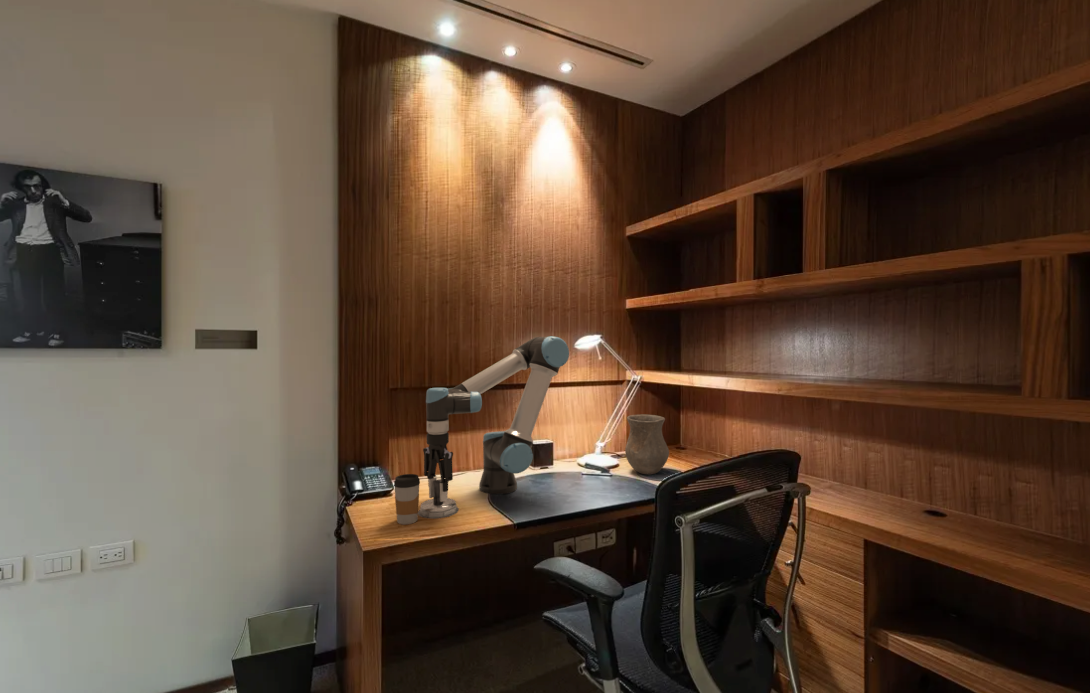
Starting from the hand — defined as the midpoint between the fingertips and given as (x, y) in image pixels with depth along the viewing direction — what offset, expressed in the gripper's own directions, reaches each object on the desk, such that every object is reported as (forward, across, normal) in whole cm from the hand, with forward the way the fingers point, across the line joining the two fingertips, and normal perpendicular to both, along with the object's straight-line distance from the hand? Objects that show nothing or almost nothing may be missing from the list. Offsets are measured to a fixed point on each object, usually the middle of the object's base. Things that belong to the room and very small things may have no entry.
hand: (438, 498), depth 161 cm
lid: (+4, 0, 0) cm, 4 cm away
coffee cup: (+5, -1, -12) cm, 13 cm away
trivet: (+5, 0, 0) cm, 5 cm away
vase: (+5, +36, +89) cm, 96 cm away
